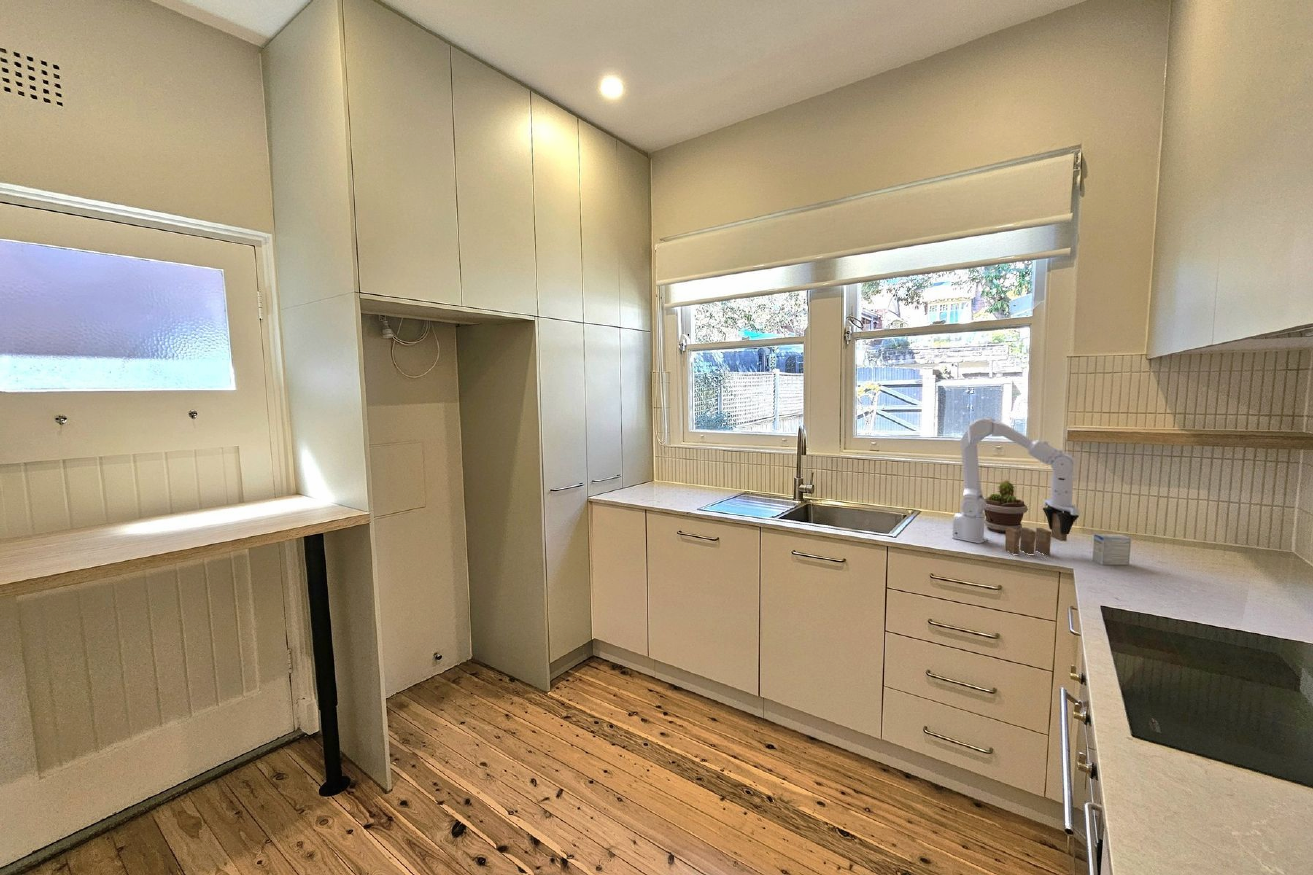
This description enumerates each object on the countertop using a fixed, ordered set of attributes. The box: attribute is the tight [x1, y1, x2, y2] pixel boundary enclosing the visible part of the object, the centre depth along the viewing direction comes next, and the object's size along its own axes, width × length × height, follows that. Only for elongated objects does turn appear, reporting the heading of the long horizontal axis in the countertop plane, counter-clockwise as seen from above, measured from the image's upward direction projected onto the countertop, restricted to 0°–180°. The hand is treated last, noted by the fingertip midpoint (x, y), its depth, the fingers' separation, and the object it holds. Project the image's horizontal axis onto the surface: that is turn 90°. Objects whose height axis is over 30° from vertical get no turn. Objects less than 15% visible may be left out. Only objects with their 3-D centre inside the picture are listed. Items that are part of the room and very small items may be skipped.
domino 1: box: [1004, 527, 1021, 555], centre depth 177 cm, size 2×5×8 cm, turn 175°
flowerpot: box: [983, 477, 1029, 534], centre depth 203 cm, size 14×15×20 cm
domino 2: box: [1019, 527, 1036, 555], centre depth 176 cm, size 2×5×8 cm, turn 175°
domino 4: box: [1050, 513, 1068, 542], centre depth 175 cm, size 2×5×8 cm, turn 175°
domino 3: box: [1034, 527, 1052, 556], centre depth 176 cm, size 2×5×8 cm, turn 175°
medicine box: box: [1092, 533, 1132, 566], centre depth 166 cm, size 8×4×9 cm, turn 84°
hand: (1059, 531), depth 175 cm, fingers closed on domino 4, 5 cm apart
